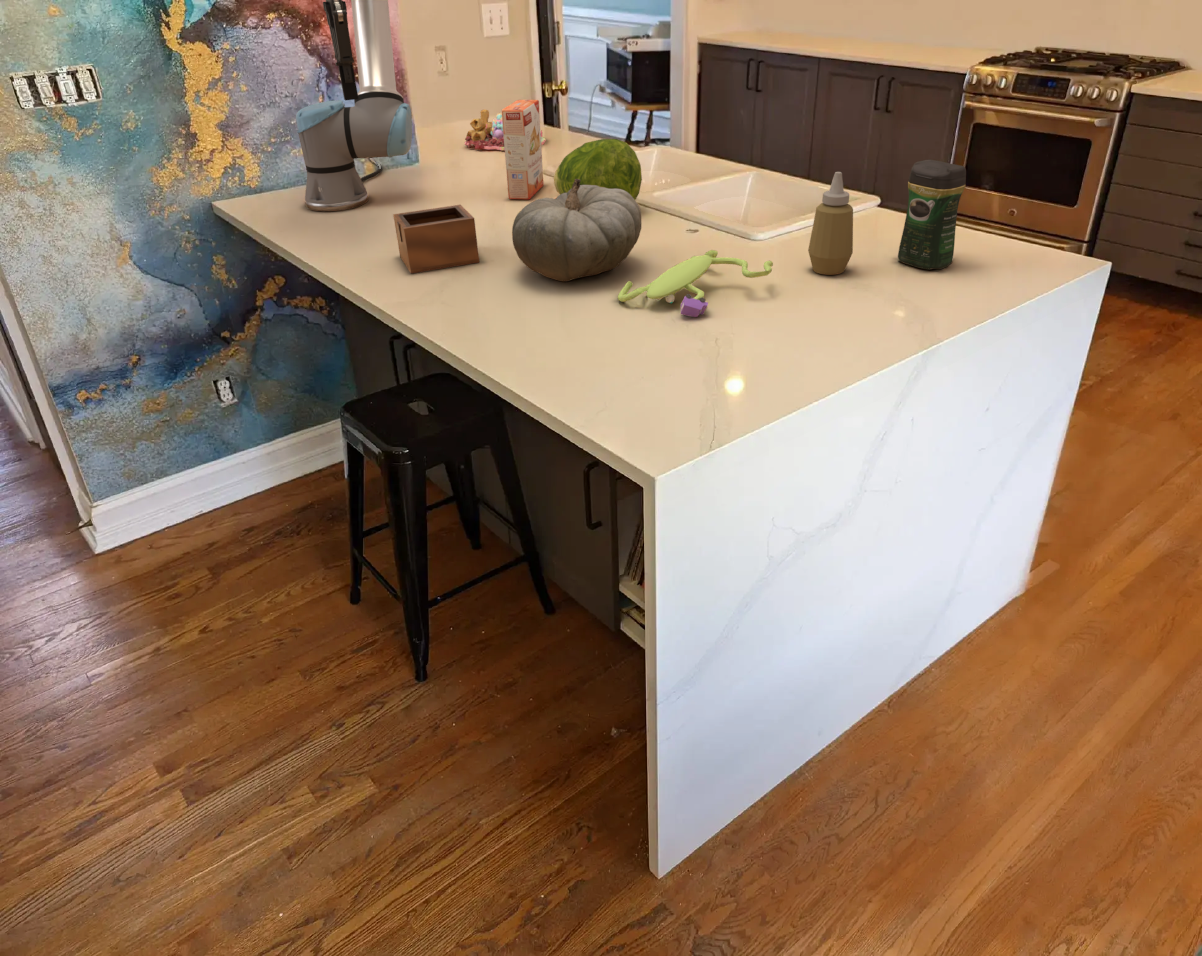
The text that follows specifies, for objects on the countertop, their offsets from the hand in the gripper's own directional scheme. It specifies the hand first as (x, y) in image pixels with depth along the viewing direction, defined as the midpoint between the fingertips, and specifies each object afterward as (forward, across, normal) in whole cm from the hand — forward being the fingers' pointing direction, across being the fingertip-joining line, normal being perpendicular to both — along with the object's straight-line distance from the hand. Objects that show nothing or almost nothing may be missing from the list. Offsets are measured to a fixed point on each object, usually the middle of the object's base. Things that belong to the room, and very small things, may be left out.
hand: (351, 99), depth 182 cm
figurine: (+29, +65, +47) cm, 85 cm away
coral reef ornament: (+29, -76, +53) cm, 97 cm away
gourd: (+29, +43, +32) cm, 61 cm away
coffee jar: (+29, +71, +92) cm, 120 cm away
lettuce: (+29, +6, +50) cm, 58 cm away
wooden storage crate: (+24, +18, +9) cm, 31 cm away
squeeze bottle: (+29, +66, +74) cm, 103 cm away
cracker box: (+29, -17, +41) cm, 53 cm away
